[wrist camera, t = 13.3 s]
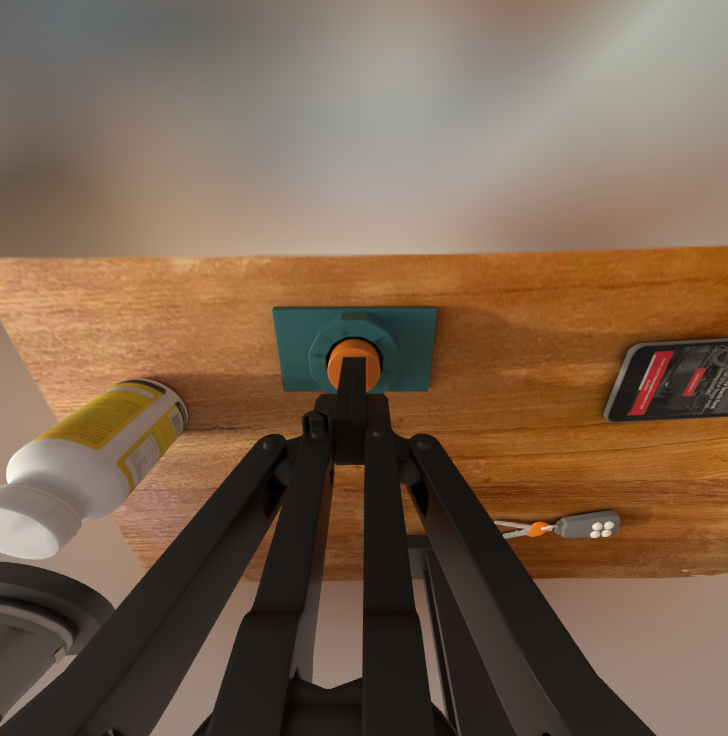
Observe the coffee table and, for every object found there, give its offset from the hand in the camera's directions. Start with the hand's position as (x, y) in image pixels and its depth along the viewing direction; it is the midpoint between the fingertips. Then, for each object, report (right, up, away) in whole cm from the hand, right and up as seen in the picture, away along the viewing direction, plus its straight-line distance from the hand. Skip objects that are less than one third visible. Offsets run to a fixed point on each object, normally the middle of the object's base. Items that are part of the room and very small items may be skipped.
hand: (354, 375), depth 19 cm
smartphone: (+29, 0, +5) cm, 29 cm away
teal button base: (0, +2, +4) cm, 4 cm away
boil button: (0, +1, +2) cm, 2 cm away
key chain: (+22, -17, +14) cm, 31 cm away
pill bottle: (-18, -3, +7) cm, 19 cm away
